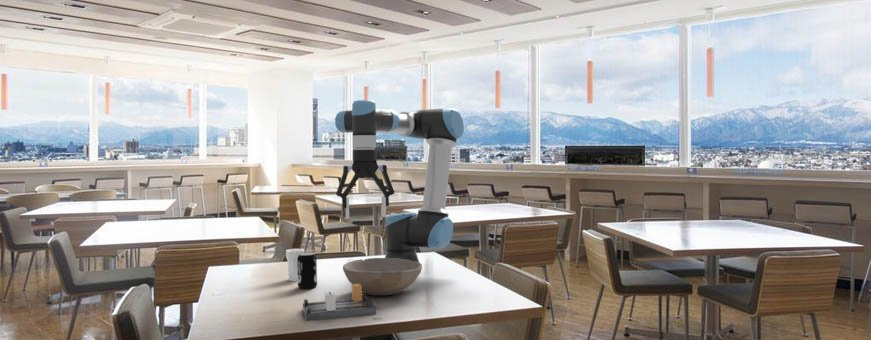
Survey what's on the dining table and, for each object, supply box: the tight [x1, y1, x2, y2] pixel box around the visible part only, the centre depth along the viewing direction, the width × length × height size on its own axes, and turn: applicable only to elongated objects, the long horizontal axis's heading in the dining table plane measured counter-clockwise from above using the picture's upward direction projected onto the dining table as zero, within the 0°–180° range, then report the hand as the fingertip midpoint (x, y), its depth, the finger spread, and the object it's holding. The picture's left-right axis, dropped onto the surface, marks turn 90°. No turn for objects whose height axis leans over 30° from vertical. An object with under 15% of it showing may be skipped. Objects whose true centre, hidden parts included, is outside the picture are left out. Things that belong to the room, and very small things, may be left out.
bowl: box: [342, 257, 423, 296], centre depth 198 cm, size 26×26×10 cm
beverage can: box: [297, 251, 318, 290], centre depth 208 cm, size 7×7×12 cm
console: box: [302, 294, 378, 321], centre depth 176 cm, size 20×12×3 cm, turn 107°
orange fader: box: [351, 284, 363, 301], centre depth 181 cm, size 2×4×5 cm
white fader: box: [324, 291, 336, 311], centre depth 171 cm, size 2×4×5 cm
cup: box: [285, 248, 305, 282], centre depth 222 cm, size 7×7×11 cm
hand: (365, 217), depth 191 cm, fingers open, 11 cm apart
